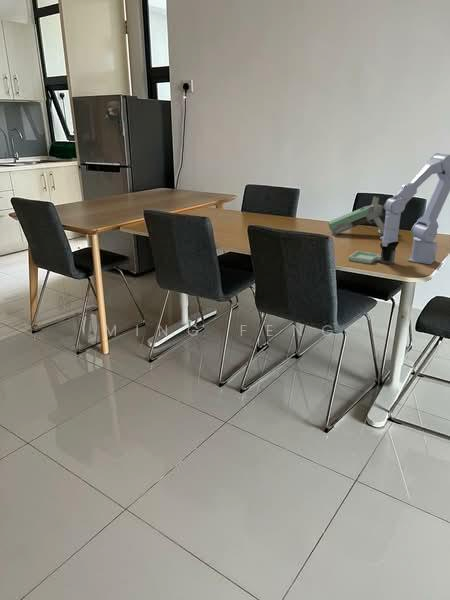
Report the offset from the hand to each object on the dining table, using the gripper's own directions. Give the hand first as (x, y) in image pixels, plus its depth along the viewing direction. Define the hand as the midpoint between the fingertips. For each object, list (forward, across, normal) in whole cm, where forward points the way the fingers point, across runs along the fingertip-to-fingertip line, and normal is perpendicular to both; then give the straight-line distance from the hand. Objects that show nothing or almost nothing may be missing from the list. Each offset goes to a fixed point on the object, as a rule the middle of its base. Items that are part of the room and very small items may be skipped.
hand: (387, 259), depth 191 cm
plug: (+1, 0, 0) cm, 1 cm away
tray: (+2, 0, -10) cm, 10 cm away
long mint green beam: (+2, -46, -28) cm, 54 cm away
